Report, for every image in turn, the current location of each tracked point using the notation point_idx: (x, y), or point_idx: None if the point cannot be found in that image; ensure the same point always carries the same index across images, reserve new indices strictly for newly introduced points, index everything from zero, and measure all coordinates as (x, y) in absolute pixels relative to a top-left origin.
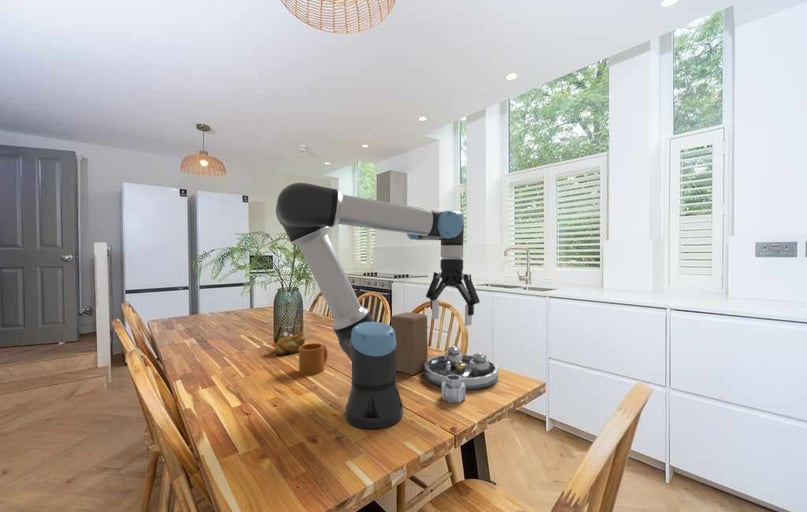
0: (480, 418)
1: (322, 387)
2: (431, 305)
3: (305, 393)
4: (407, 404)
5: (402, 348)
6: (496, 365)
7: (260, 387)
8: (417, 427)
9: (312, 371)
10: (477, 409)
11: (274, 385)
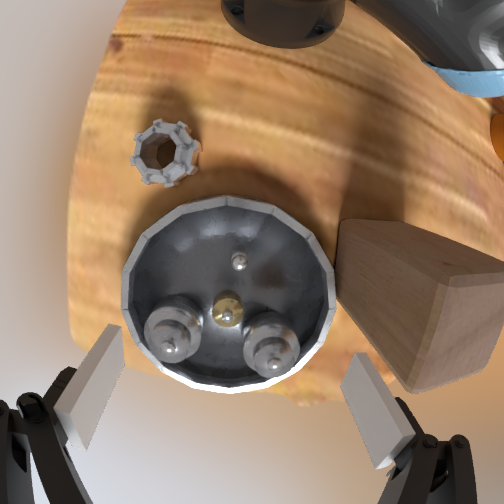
0: (86, 110)
1: None
2: (406, 413)
3: None
4: (250, 63)
5: (410, 234)
6: (148, 358)
7: None
8: (177, 11)
9: (496, 118)
10: (103, 139)
11: None
